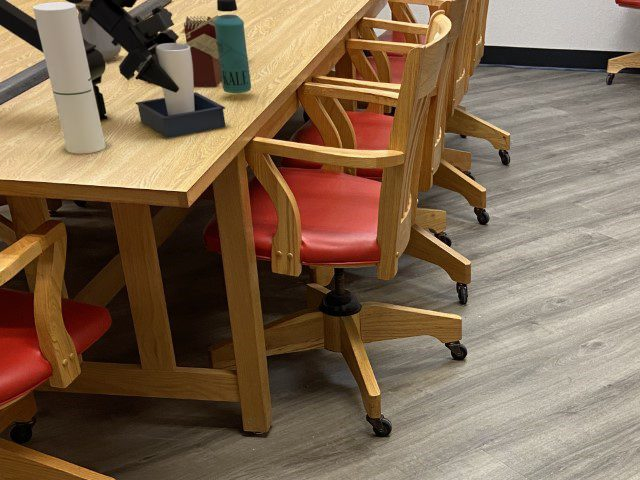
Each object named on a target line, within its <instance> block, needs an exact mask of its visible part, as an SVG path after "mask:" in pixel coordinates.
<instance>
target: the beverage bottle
mask: <svg viewBox="0 0 640 480" xmlns="http://www.w3.org/2000/svg"><path fill="white" fill-rule="evenodd" d="M216 10H217V11H219V12H223V13H224V12H226V13H227V12H229V13H230V12H236V11H237V10H238V6H237V1H236V0H216ZM214 25H215V31H216V37H215V38H216V40H217V41H216V42H217V43H216V44H217V47H218V51H217V52H218V55H219V62H220V63H219V64H220V70H221V75H220V76H221V78H222V80H221V81H220V83H221V88H222V90H223V91H224V92H225V93H228V94H244V93H248V92H250V91H251V89H252V78H251V73H250V64H249V58H248V51H247V41H246V34H245V33H246V32H245V22H244V20H243V19H242V18H241V17H240V16H239V15H237V14H220V15H218V17H217V19H216V20H215V21H214Z"/></svg>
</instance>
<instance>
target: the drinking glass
mask: <svg viewBox="0 0 640 480" xmlns="http://www.w3.org/2000/svg"><path fill="white" fill-rule="evenodd" d="M155 49H156V53H157V55H158V60H159V64H160V66H161V67H162V68H163V70H164V71H165V72H166V73H167V74H168V75H169V76H170V78H171V79H172V80H173V81H174V82H175V84H176V85H177V86H178V87H179V90H178V92H176V93H175V92H173V91H170V90H167V89H165V88H162V87H161V89H162V94H163V98H164V99H165V103H166V108H167V113H168V116H170V115H176V114H181V113H187V112H193V111H195V107H194V93H195V87H194V80H193V64H192V56H191V50H190V46H189V45H186V44H184V43H181V42H177V43H165V44H160V45H157V46H156V47H155Z"/></svg>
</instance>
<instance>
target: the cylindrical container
mask: <svg viewBox="0 0 640 480" xmlns="http://www.w3.org/2000/svg"><path fill="white" fill-rule="evenodd" d="M32 9H33V14H34V19H35V20H36V23H37V27H38V31H39V35H40V39H41V44H42V48H43V52H44V53H43V52H42V53H43V57H44V60H45V64H46V69H47V73H48V78H49V82H50V85H51V89H52V93H53V98H54V102H55V107H56V111H57V116H58V118H59V123H60V128H61V132H62V136H63V141H64V144H65V145H64V146H65V149H66V152H69V153H71V154H81V155H83V154H92V153H97V152H100V151H103V150H104V149H105V148H106V141H105V138H104V132H103V128H102V124H101V123H102V122H101V120H100V118H99V113H98V108H97V104H96V99H95V94H94V90H93V85H92V80H91V75H90V71H89V66H88V61H87V57H86V52H85V47H84V42H83V38H82V33H81V28H80V24H79V19H78V14H79V13H78V10H77V9H76V5H75V4H73V3H70V2H68V1H61V2H60V1H52V2H51V1H50V2H42V3H37V4H35V5H33V6H32Z"/></svg>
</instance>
